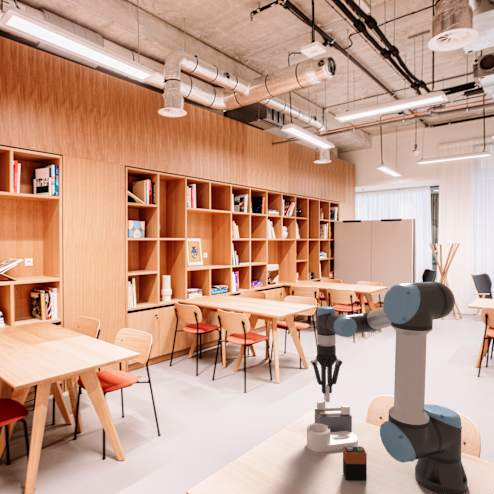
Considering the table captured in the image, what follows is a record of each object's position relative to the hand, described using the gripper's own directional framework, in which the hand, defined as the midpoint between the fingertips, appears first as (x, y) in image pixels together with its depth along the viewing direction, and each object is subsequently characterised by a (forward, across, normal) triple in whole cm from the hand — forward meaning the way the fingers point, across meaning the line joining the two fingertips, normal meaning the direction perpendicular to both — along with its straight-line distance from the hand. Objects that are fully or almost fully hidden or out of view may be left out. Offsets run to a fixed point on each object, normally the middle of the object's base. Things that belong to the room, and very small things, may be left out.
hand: (326, 400), depth 161 cm
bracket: (+12, +2, +13) cm, 18 cm away
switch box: (+11, -2, +2) cm, 11 cm away
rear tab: (+3, +2, 0) cm, 4 cm away
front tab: (+4, -6, +5) cm, 9 cm away
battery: (+12, +1, +34) cm, 36 cm away
